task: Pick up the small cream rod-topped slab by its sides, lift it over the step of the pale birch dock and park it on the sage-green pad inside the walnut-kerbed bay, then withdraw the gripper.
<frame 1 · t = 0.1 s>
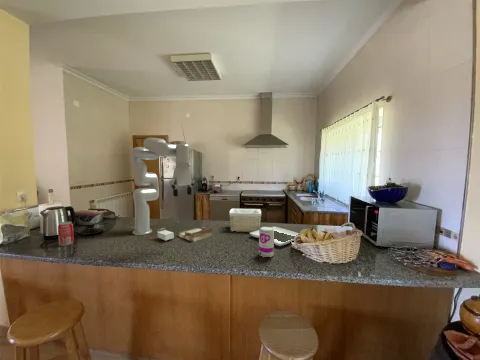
hand: (182, 195, 129), 31 cm above the countertop, tool pointing down, fingers open, 9 cm apart
storage basket: (245, 229, 172), on the countertop
cream rod-topped slab: (165, 239, 145), on the countertop
soda can: (66, 244, 134), on the countertop
dock: (195, 236, 153), on the countertop
square plate: (276, 239, 152), on the countertop
supplement can: (266, 255, 123), on the countertop
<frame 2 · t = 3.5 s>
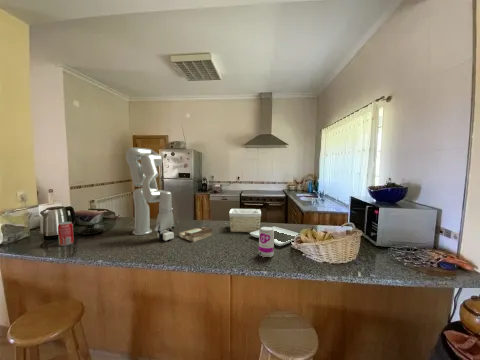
hand: (165, 237, 145), 1 cm above the countertop, tool pointing down, fingers closed on cream rod-topped slab, 6 cm apart
cream rod-topped slab: (165, 239, 145), on the countertop, touching gripper
everything else where it was.
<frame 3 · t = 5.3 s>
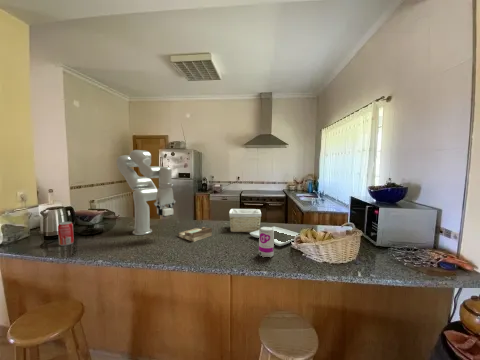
hand: (165, 213, 144), 17 cm above the countertop, tool pointing down, fingers closed on cream rod-topped slab, 6 cm apart
cream rod-topped slab: (165, 215, 144), point 16 cm above the countertop, touching gripper
everything else where it was.
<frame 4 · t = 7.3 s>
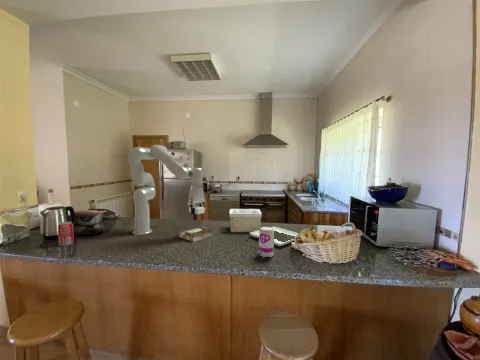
hand: (196, 212, 151), 17 cm above the countertop, tool pointing down, fingers closed on cream rod-topped slab, 6 cm apart
cream rod-topped slab: (196, 214, 151), point 15 cm above the countertop, touching gripper
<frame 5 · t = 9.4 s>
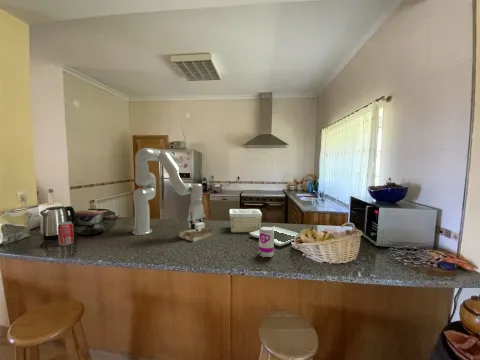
hand: (196, 228, 152), 6 cm above the countertop, tool pointing down, fingers closed on cream rod-topped slab, 6 cm apart
cream rod-topped slab: (196, 229, 152), point 5 cm above the countertop, touching gripper
when the fingers open (5 cm above the countertop, at t = 11.0 s): cream rod-topped slab drops 1 cm, resting on dock.
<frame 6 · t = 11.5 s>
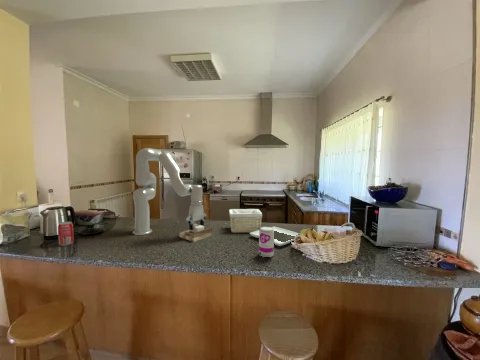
hand: (196, 228, 152), 6 cm above the countertop, tool pointing down, fingers open, 9 cm apart
cream rod-topped slab: (196, 232, 152), point 3 cm above the countertop, touching dock
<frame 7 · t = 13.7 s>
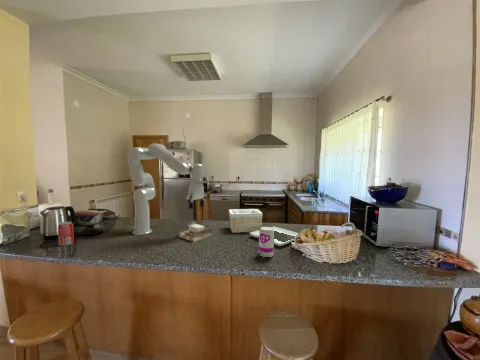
hand: (196, 207, 151), 20 cm above the countertop, tool pointing down, fingers open, 9 cm apart
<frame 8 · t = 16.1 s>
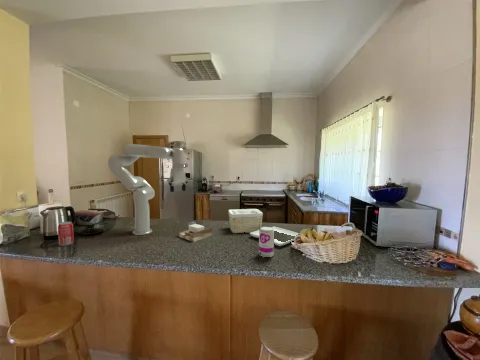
hand: (178, 191, 154), 30 cm above the countertop, tool pointing down, fingers open, 9 cm apart
at the end: cream rod-topped slab 0.1 cm from the target spot on the dock, point 2.7 cm above the dock's base; cream rod-topped slab tilted 0°; the gripper is holding nothing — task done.
